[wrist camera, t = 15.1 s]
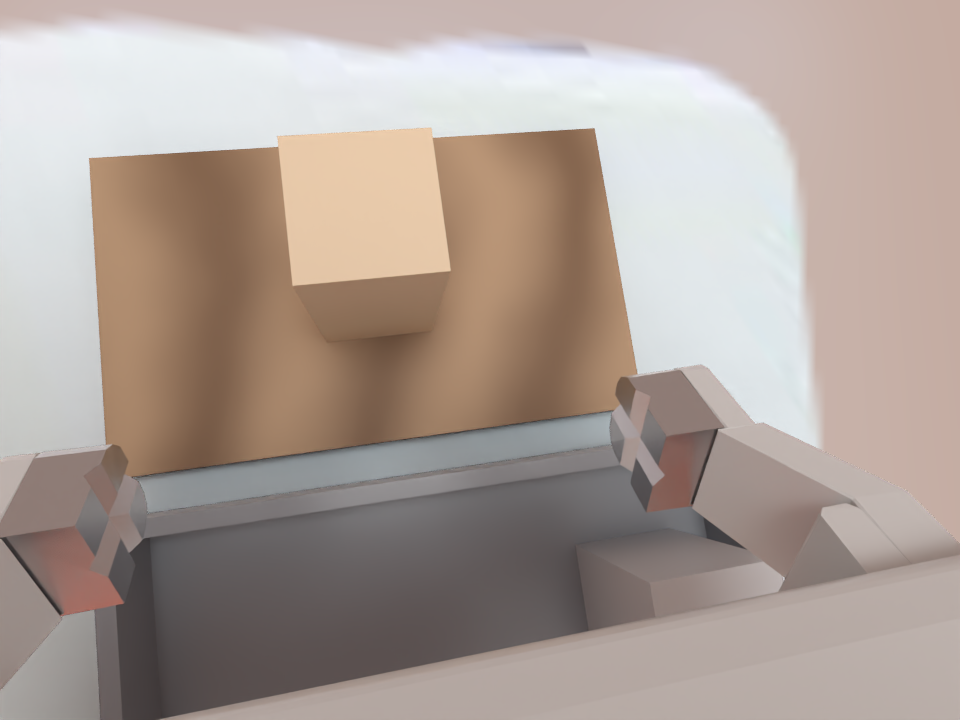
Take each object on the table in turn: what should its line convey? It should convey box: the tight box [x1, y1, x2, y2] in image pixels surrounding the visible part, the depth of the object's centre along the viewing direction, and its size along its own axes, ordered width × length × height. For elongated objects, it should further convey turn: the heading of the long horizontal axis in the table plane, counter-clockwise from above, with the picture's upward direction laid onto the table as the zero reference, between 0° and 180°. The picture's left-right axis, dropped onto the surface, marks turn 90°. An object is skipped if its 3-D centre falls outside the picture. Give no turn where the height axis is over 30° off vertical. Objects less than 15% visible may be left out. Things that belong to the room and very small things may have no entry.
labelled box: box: [277, 128, 451, 342], centre depth 19 cm, size 4×4×8 cm
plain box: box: [575, 528, 783, 631], centre depth 20 cm, size 4×4×7 cm
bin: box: [95, 445, 747, 720], centre depth 21 cm, size 22×11×4 cm, turn 98°
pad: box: [89, 128, 637, 477], centre depth 24 cm, size 20×12×1 cm, turn 98°
